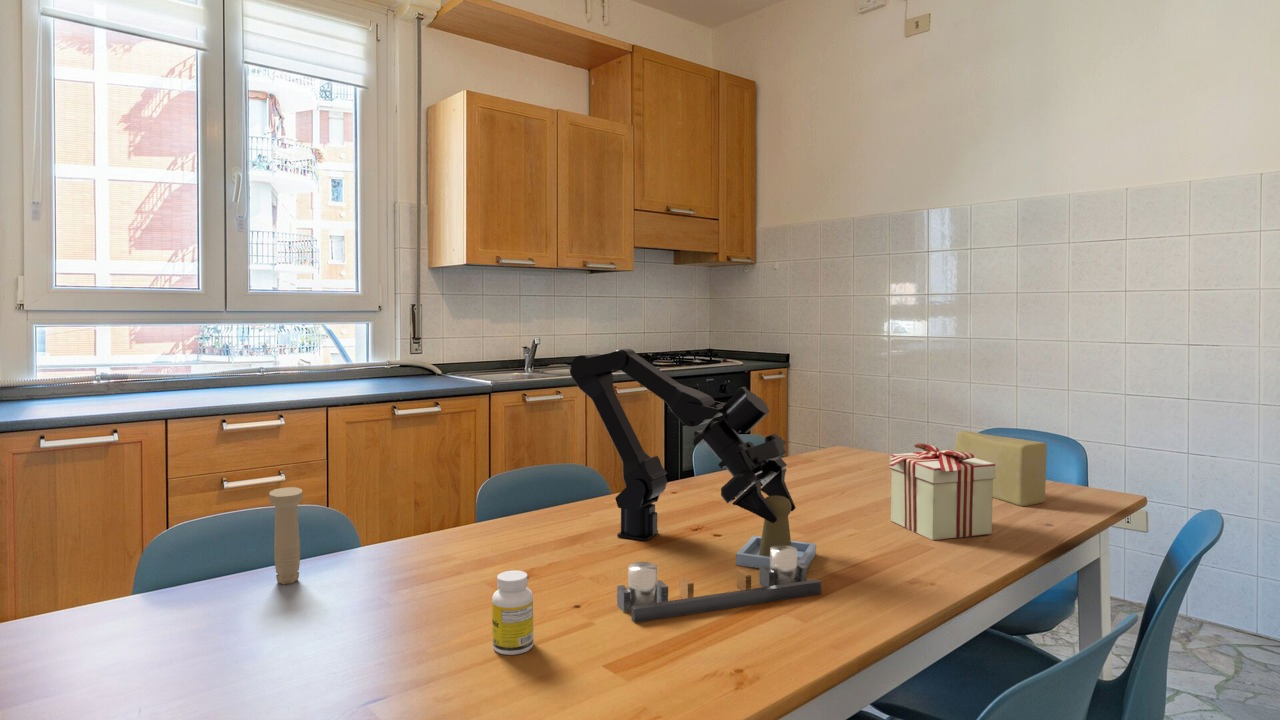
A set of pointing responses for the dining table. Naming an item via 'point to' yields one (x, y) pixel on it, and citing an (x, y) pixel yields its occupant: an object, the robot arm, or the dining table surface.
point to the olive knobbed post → (776, 525)
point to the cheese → (1010, 465)
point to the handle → (286, 533)
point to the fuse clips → (776, 585)
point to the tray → (752, 558)
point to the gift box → (942, 493)
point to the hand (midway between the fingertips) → (785, 515)
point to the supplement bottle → (512, 614)
